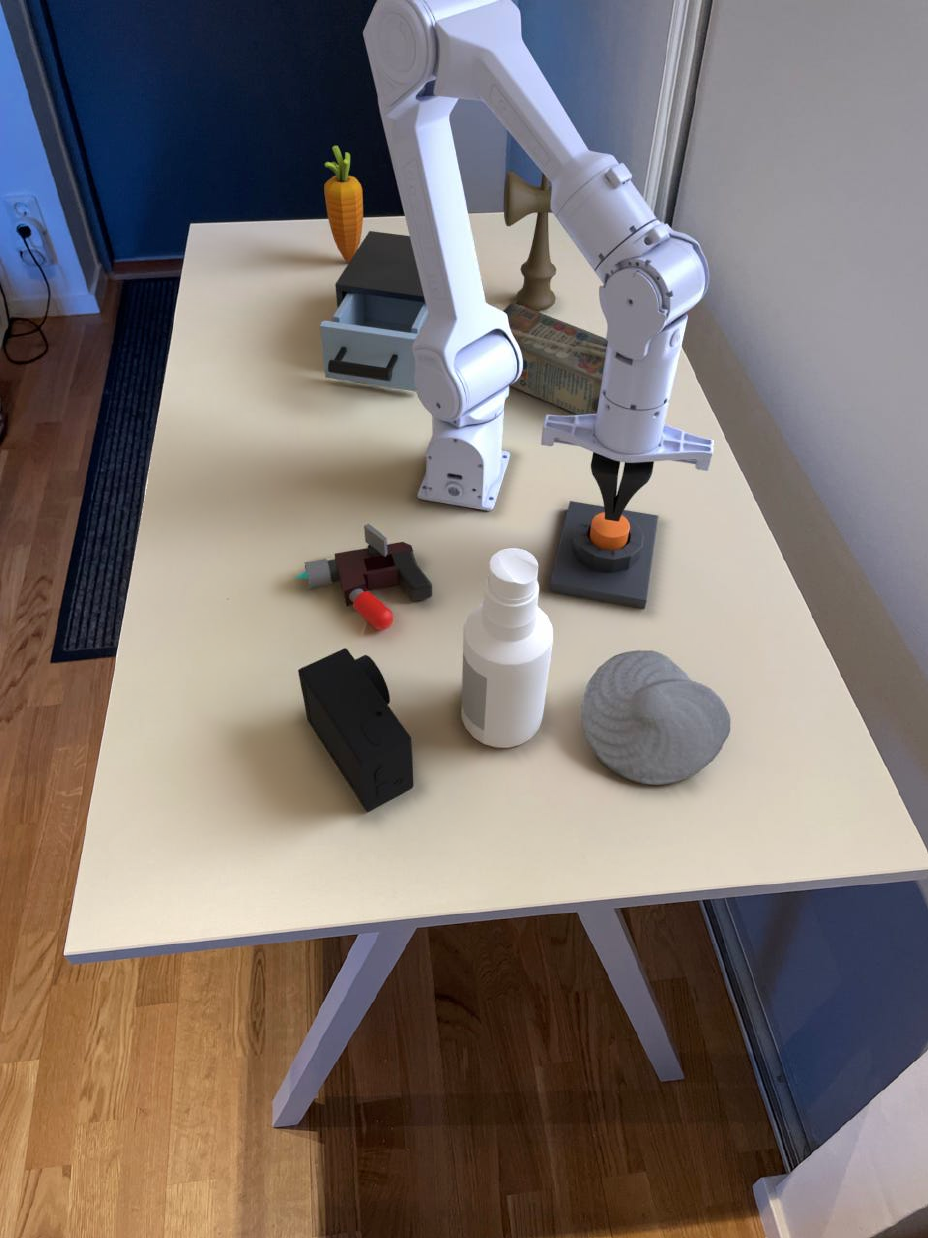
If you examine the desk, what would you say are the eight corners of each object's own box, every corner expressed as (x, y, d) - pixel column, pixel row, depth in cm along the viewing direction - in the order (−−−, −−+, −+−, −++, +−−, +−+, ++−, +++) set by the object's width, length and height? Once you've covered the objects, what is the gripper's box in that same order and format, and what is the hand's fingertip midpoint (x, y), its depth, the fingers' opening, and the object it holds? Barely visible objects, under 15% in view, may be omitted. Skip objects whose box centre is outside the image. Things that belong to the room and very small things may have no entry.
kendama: (498, 291, 123) (505, 133, 108) (569, 291, 123) (587, 133, 108) (500, 315, 119) (508, 154, 104) (574, 315, 119) (592, 155, 104)
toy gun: (293, 574, 88) (287, 537, 84) (416, 552, 90) (415, 515, 86) (310, 650, 82) (303, 613, 78) (441, 624, 84) (440, 588, 80)
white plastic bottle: (500, 670, 80) (511, 517, 67) (558, 716, 77) (583, 565, 64) (444, 714, 77) (444, 563, 64) (502, 764, 74) (515, 616, 60)
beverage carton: (612, 433, 103) (620, 383, 98) (471, 375, 110) (472, 325, 105) (645, 399, 107) (655, 349, 102) (508, 345, 114) (510, 296, 109)
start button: (624, 553, 87) (627, 540, 85) (587, 547, 87) (589, 533, 86) (629, 528, 89) (632, 514, 88) (592, 522, 89) (594, 508, 88)
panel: (644, 609, 85) (650, 587, 83) (549, 592, 87) (552, 570, 84) (656, 524, 93) (661, 501, 91) (568, 509, 94) (571, 486, 92)
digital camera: (428, 781, 73) (427, 731, 68) (367, 814, 71) (362, 765, 66) (364, 692, 79) (359, 640, 73) (307, 720, 77) (297, 668, 71)
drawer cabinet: (440, 363, 111) (440, 298, 105) (341, 349, 113) (334, 283, 107) (465, 306, 120) (467, 242, 114) (373, 293, 122) (369, 230, 115)
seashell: (618, 661, 81) (550, 720, 75) (642, 621, 77) (572, 679, 71) (724, 749, 78) (662, 818, 72) (755, 711, 73) (691, 782, 67)
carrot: (365, 271, 126) (357, 158, 114) (329, 270, 126) (317, 157, 114) (368, 254, 129) (361, 141, 118) (333, 253, 129) (322, 140, 118)
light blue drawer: (409, 413, 103) (407, 361, 98) (312, 398, 105) (306, 346, 100) (445, 334, 114) (445, 283, 109) (357, 322, 116) (353, 271, 110)
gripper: (727, 375, 77) (694, 498, 87) (556, 351, 79) (543, 474, 89) (723, 425, 72) (689, 548, 83) (542, 398, 74) (530, 522, 85)
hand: (613, 513), depth 86 cm, fingers closed
